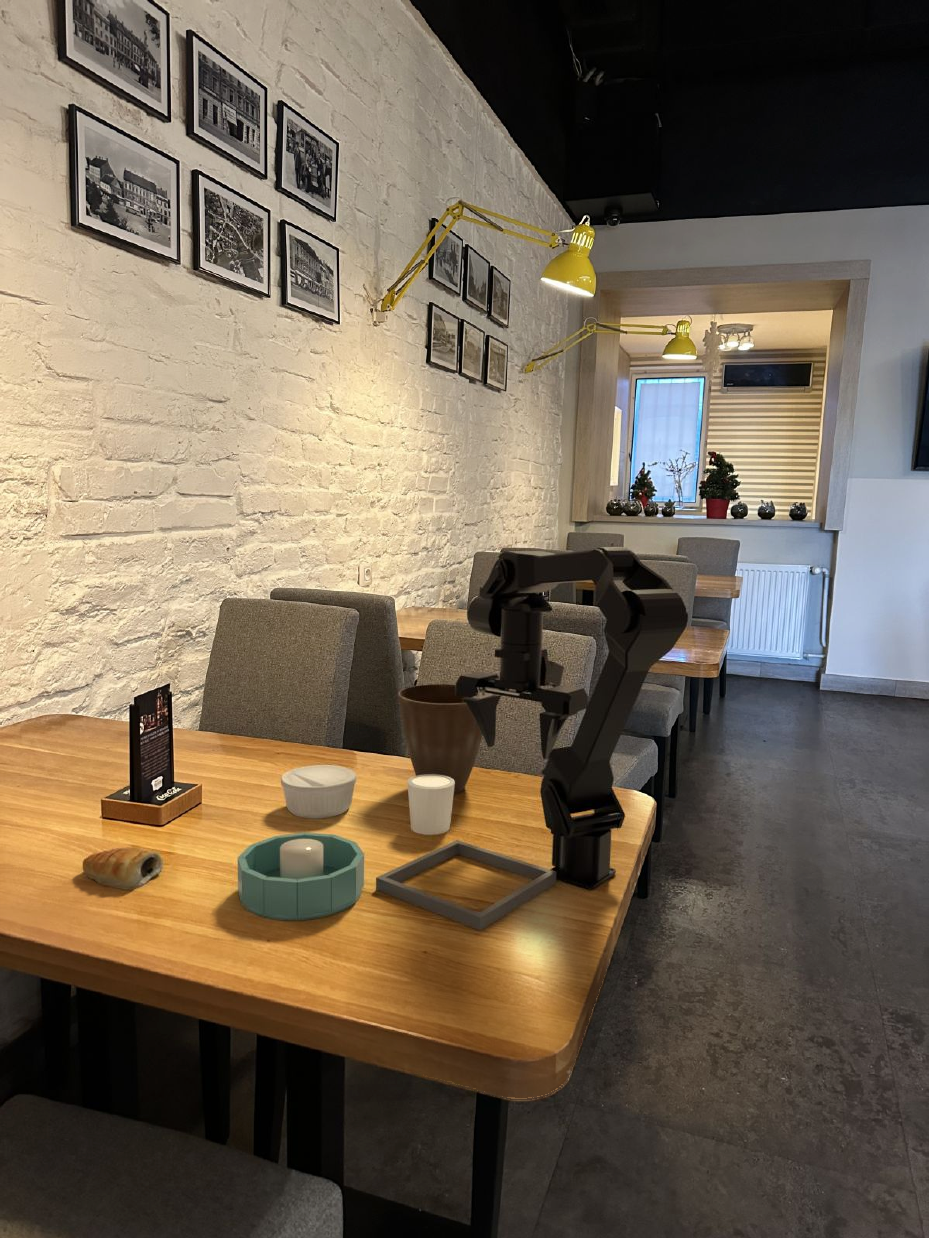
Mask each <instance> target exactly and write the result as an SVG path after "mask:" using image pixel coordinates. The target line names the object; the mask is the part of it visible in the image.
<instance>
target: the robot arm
mask: <svg viewBox="0 0 929 1238" xmlns="http://www.w3.org/2000/svg"><path fill="white" fill-rule="evenodd" d="M497 558H498V559H497V560H496V561H495V562H494V564H493V566H492V568H491V571H490V574H489V576H488V578H487V580H486V582H485V583H484V584H483V586H481V587H479V592H478V593H479V595H477V596H476V597H474V598H473V600H472V601H471V603H470V604H469V605H468V609H467V611H466V617H467V618H466V619H467V623H468V624H469V626H470V628H472V630H474V631H476V632H477V633H482V634H486V635H490V636H494V637H498V638H500V648H496V649H494V658H499V675H498V674H496V673H492V672H491V673H490V672H484V671H474V672H470V673H466V674H462V675H461V674H460V675H459V676H458V678H457V680H456V682H455V694H456V695H457V696H463V697H465V698H462V701H463V702H464V703H467V705H468V707H469V708H470V710H471V712H472V714H473V716H474V717H475V719H476V721H477V723H478V725H479V728H480V730H481V732H482V734H483V735H482V738H484V740H485V743H486V745H487V747H489V748H492V747H494V746H495V743H496V728H497V727H496V725H497V707H498V704H499V702H500V700H501V697H502V696H504V697H509V698H515V699H519V700H520V699H521V700H526V701H532V702H538V703H541V705H540V706H541V707H542V708H543V710H544V711H542V712H540V713H539V731H540V732H539V733H540V748H541V751H540V752H541V755H542V760H547V762H546V765H545V767H544V768H543V769H542V770H541V775H543V777H542V779H541V783H540V784H541V785H540V792H539V793H540V798H541V805H542V809H543V810H542V811H543V815H544V816H543V817H544V822H545V827H546V829H548V830H550V834H551V835H552V843H551V844H552V845H551V846H552V848H551V866H553V867H552V868H551V869H549V870H552V871H555V872H556V880H561V881H564V882H567V883H569V884H572V885H577V886H579V887H582V888H585V889H587V890H588V889H589V890H592V889H595V888H597V887H598V886H599V885H601V884H602V883H604V882H605V881H607V880H608V879H611V877H613V876H614V875H615V874H617V873H616V871H617V870H616V869H615V868H612V867H611V854H612V853H611V851H612V850H611V849H612V830H613V829H622V826H623V823H624V820H625V818H626V815H625V811H624V810H623V808H622V805H621V804H620V801H619V799H618V797H617V796H616V794H615V791H614V789H613V783H614V781H615V775H614V771H613V767H612V764H611V762H610V761H611V758H612V756H613V754H614V751H615V750H616V747H617V745H618V743H619V739H620V738H621V735H622V733H623V731H624V729H625V726H626V723H627V722H628V719H629V717H630V715H631V712H632V711H633V708H634V705H635V703H636V701H637V698H638V696H639V694H640V692H641V690H642V687H643V685H644V682H645V680H646V678H647V675H648V673H649V671H650V669H651V667H653V666H654V665H655V664H657V663H658V662H659V661H660V660H661V659H662V658H663V657H665V656H666V655H667V654H668V653H670V652H671V651H672V650H673V649H674V647H675V646H676V644H677V643H678V641H679V639H680V637H681V636H682V635H683V633H684V632H685V630H686V628H687V625H688V621H689V613H688V611H687V607H686V605H685V602H684V600H683V599H682V596H681V595H680V594H679V593H678V592H677V591H675V590H674V588H672V586H671V585H670V584H669V582H668V581H667V580H666V579H665V578H664V577H662V576H661V575H659V574H658V573H657V572H656V571H654V570H653V569H651V568H650V567H648V566H647V565H645V564H644V563H643V562H642V561H641V560H640V559H639V558H638V556H637V555H636V554H635V552H634V551H633V550H631V549H629V548H627V547H624V546H623V547H621V546H620V547H619V546H618V547H616V546H615V547H613V546H610V547H607V546H606V547H605V546H604V547H603V546H601V547H600V546H599V547H595V548H594V549H591V550H581V551H575V552H572V551H571V552H564V553H557V554H556V553H555V552H548V551H543V550H535V551H534V550H504V551H502V552H500V553H499V554H498V557H497ZM581 582H592V583H593V584H594V586H595V603H596V606H597V608H598V609H599V610H600V612H601V613H602V615H603V617H604V618H605V619H606V620H605V624H604V629H603V634H604V637H605V641H606V644H607V645H606V646H607V648H608V653H607V656H606V659H605V661H604V664H603V667H602V669H601V671H600V674H599V677H598V678H597V679H598V680H597V681H596V684H595V687H594V690H593V691H592V694H591V697H590V699H589V696H588V694H587V691H586V690H585V687H578V686H572V685H566V684H561V683H562V679H563V674H564V670H565V666H563V665H561V664H559V663H557V662H555V661H552V660H549V658H548V656H549V653H548V650H547V648H543V623H544V613H551V612H552V611H553V606H552V605H551V603H550V602H548V601H547V600H546V598H545V597H544V595H543V594H542V593H545V592H547V591H550V590H553V589H556V588H557V586H558V585H560V584H565V583H566V584H567V583H581ZM615 582H622V583H623V585H624V586H625V587H626V588H628V589H629V590H627V589H626V590H624V591H621V590H620V589H619V587H618V586H617V584H616V583H615ZM548 686H549V688H543V687H548ZM550 686H552V687H550ZM541 687H542V688H541ZM583 710H585V711H584V714H583V717H582V718H581V719H582V720H581V721H580V724H579V726H578V729H577V731H576V734H575V737H574V739H573V741H572V743H571V745H570V746H564V747H559V748H557V747H556V748H555V747H554V746H555V744H556V742H557V739H558V736H559V735H560V732H561V730H562V728H563V726H564V724H565V722H566V721H567V720H568V719H569V717H572V716H574V715H577V714H579V712H580V711H583ZM590 811H593V812H591V813H587V814H582V815H577V816H573V817H572V815H575V814H578V813H584V812H590Z"/></svg>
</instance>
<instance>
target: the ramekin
mask: <svg viewBox="0 0 929 1238" xmlns="http://www.w3.org/2000/svg"><path fill="white" fill-rule="evenodd" d="M356 782H357V773H356V771H354V770H352V769H350V768H347V767H344V766H340V765H332V764H318V765H306V766H302V767H301V766H300V767H295V768H293V769H290V770H288V771H287V772H284V773H283V775H282V776H281V777H280V785H281V787H282V788H283V794H284V799H285V800H284V801H285V804H286V808H287V809H288V811H290V813H291V814H293V815H295V816H296V817H300V818H304V819H305V818H306V819H325V818H326V819H327V818H333V817H335V816H339V815H341V814H344V813H345V812H347V810H348V809H349V808H350V807H351V805H352V801H353V796H354V790H355V784H356Z"/></svg>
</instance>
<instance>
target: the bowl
mask: <svg viewBox="0 0 929 1238" xmlns="http://www.w3.org/2000/svg"><path fill="white" fill-rule="evenodd" d="M295 839H313V840H317V841H320V842H321V843H322V844H323V876H317V877H310V878H303V879H289V878H280V846H281V845H282V844H284V843H285V842H288V841H291V840H295ZM364 886H365V853H364V851H363V850H362V849H361V847H360V846H359V845H358V842H356V841H354V840H352V839H348V838H345V837H342V836H340V835H337V834H333V833H332V834H330V833H318V832H298V833H289V834H283V835H282V834H281V835H276V836H275V835H274V836H271V837H268V838H266V839H263V840H261V841H258V842H254V843H252V844H250V845H248V847H246V849H244V850H243V852H241V853H240V854H239V855H238V856H237V890H238V894H239V902H240V903H241V905H242V907H243V908H244V909H245V910H247V911H248V912H250V913H251V914H254V915H256V916H259V917H262V918H266V919H271V920H278V921H289V922H291V921H307V920H315V919H320V918H324V917H328V916H332V915H335V914H338V913H340V912H342V911H345V910H346V909H348V908H350V907H352V906H353V905H354V904H355V903H357V901H358V900H359V899H360V898H361V895H362V891H363V888H364Z"/></svg>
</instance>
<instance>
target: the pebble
mask: <svg viewBox="0 0 929 1238" xmlns="http://www.w3.org/2000/svg"><path fill="white" fill-rule="evenodd" d="M317 876H323V844H322V843H321V842H320V841H317V840H313V839H295V840H291V841H288V842H285V843H284V844H282V845H281V846H280V878H289V879H303V878H310V877H317Z"/></svg>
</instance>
